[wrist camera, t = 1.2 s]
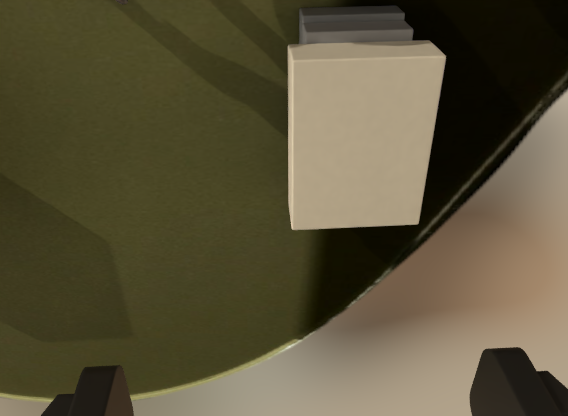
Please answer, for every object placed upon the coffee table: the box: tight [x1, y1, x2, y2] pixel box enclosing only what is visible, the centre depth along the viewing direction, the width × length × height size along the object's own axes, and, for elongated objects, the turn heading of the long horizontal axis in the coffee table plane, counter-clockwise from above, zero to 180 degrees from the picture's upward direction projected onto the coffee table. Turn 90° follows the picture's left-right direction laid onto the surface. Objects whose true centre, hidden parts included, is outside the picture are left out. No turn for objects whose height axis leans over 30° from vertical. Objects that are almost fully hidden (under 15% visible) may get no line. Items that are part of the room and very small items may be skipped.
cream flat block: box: [288, 40, 446, 230], centre depth 23 cm, size 8×6×2 cm
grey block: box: [299, 6, 413, 44], centre depth 25 cm, size 10×4×3 cm, turn 0°
